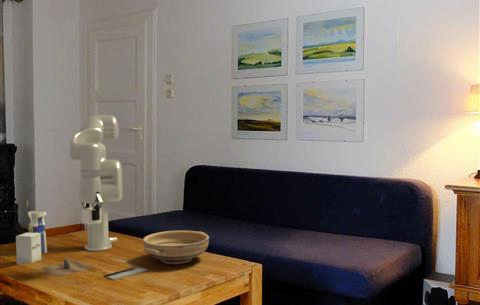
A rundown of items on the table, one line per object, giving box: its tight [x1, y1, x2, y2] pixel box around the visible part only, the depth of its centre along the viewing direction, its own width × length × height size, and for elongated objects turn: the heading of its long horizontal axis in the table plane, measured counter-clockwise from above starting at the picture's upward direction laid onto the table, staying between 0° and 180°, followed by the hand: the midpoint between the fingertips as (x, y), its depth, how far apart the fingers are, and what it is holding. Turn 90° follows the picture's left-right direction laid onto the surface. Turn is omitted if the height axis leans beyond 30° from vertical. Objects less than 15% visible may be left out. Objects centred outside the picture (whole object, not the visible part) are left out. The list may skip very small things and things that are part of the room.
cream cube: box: [81, 207, 102, 225], centre depth 204 cm, size 6×6×6 cm
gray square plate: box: [103, 266, 148, 281], centre depth 205 cm, size 16×16×1 cm
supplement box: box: [15, 232, 42, 266], centre depth 218 cm, size 7×7×13 cm
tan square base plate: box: [39, 258, 96, 277], centre depth 205 cm, size 16×16×5 cm
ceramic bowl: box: [142, 230, 210, 265], centre depth 221 cm, size 37×29×10 cm
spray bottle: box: [26, 199, 48, 255], centre depth 235 cm, size 8×9×25 cm
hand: (91, 218), depth 204 cm, fingers closed on cream cube, 5 cm apart
